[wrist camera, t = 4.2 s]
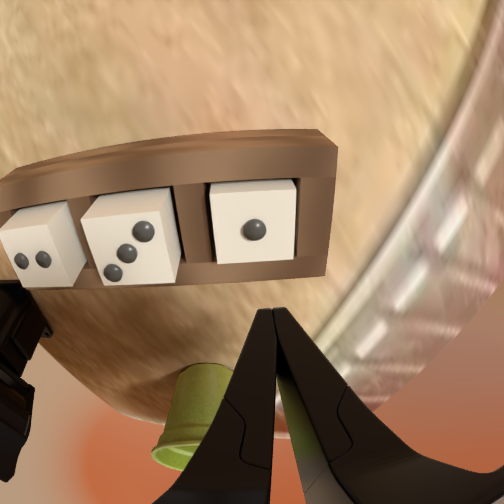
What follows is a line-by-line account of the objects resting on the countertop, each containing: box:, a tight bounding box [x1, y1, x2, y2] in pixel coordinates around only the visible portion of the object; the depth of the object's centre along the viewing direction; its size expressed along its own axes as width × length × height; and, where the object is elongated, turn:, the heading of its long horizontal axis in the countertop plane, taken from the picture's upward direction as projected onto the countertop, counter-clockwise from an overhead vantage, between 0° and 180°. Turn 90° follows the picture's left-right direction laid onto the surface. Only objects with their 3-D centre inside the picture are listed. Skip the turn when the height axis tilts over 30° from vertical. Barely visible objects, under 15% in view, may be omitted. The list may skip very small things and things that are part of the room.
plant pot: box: [151, 363, 233, 471], centre depth 24 cm, size 9×9×9 cm
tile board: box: [0, 129, 338, 290], centre depth 15 cm, size 18×7×4 cm, turn 92°
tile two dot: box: [0, 200, 87, 287], centre depth 13 cm, size 4×4×3 cm
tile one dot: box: [210, 178, 296, 264], centre depth 15 cm, size 4×4×3 cm
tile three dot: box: [80, 187, 181, 286], centre depth 13 cm, size 4×4×3 cm
